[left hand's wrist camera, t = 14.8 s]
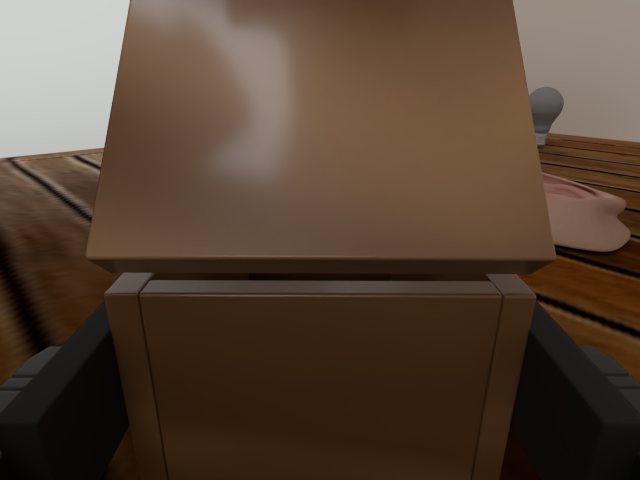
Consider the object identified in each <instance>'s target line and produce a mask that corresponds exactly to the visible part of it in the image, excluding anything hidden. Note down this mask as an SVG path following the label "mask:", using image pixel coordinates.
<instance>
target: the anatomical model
mask: <svg viewBox="0 0 640 480" xmlns="http://www.w3.org/2000/svg"><path fill="white" fill-rule="evenodd" d="M542 177H543V183H544V189H545V194H546V200H547V206H548V212H549V218H550V224H551V230H552V236H553V241H554V245H559V246H564V247H569V248H575V249H581V250H588V251H597V252H609V251H614V250H617V249H619V248H621V247H622V246H623V245H624V244H625V243H627V242H628V240H629V238H630V235H631V233H630V231H629V229H628V228H627V227H626V226H625V225H624V224H622V223H621V222H620V221H619V220H618V219H617V215H618V214H619V213H621V212H622V211H623V210H624V209H625V207H626V201H625V200H624V199H622V198H620V197H617V196H614V195H611V194H608V193H605V192H602V191H599V190H596V189H593V188H590V187H587V186H585V185H582V184H579V183H576V182H573V181H570V180H567V179H563V178H560V177H556V176H553V175H549V174H546V173H543V172H542Z"/></svg>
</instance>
